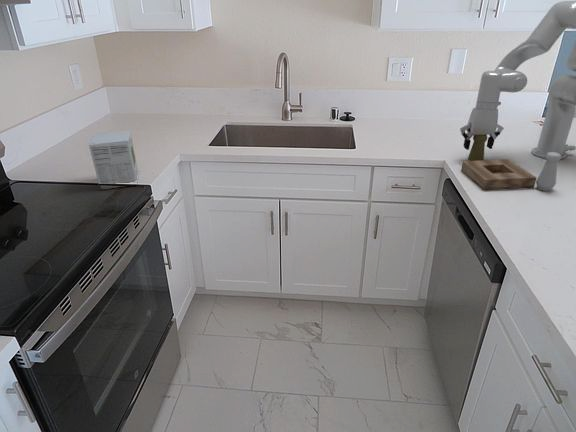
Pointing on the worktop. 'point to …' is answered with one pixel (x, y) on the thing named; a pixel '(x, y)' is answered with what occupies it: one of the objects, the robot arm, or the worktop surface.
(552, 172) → the salt shaker
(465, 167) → the walnut holder
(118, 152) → the supplement box
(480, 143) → the olive pepper mill
